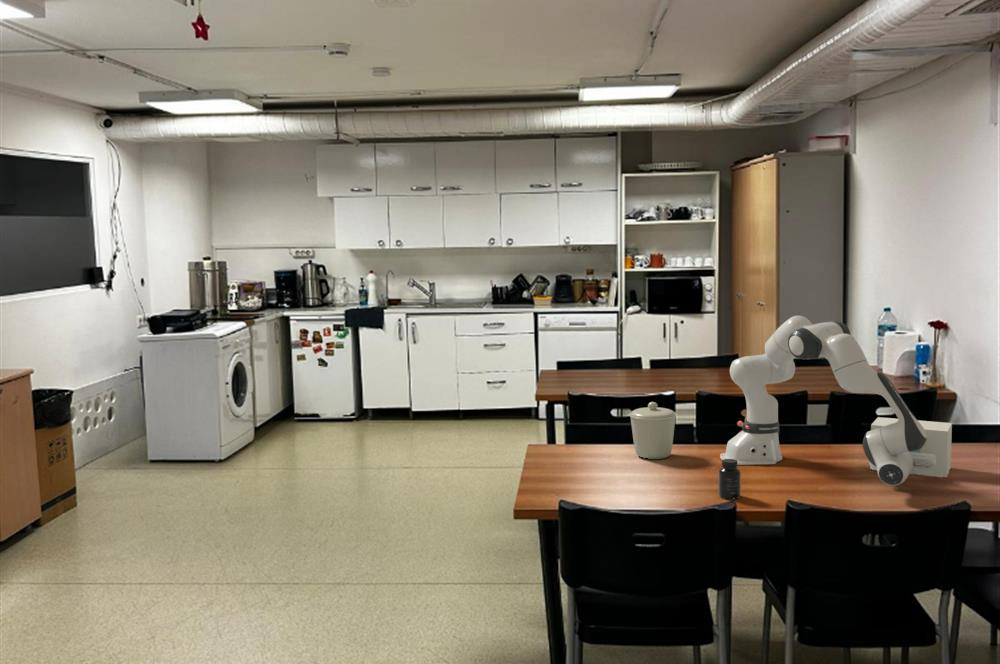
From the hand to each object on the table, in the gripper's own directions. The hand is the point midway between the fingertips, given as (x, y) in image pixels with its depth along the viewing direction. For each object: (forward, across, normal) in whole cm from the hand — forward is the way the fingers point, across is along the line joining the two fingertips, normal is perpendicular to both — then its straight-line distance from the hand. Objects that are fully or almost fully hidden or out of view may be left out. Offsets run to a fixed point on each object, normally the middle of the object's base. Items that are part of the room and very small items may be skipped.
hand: (904, 452), depth 296 cm
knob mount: (+14, 0, +9) cm, 17 cm away
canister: (-8, +87, +9) cm, 88 cm away
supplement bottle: (-45, +46, +9) cm, 65 cm away
